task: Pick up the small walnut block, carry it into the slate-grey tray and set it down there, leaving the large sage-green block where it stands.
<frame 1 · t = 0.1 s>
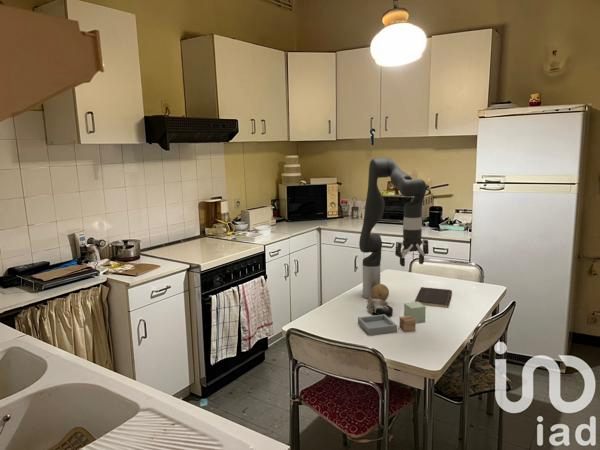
hand: (411, 265, 193), 29 cm above the table, tool pointing down, fingers open, 8 cm apart
grey tray: (377, 327, 201), on the table
sage block: (414, 319, 209), on the table
caster wheel: (380, 314, 217), on the table
natural sponge: (379, 303, 230), on the table
hardcover book: (433, 299, 235), on the table
walnut block: (407, 329, 199), on the table
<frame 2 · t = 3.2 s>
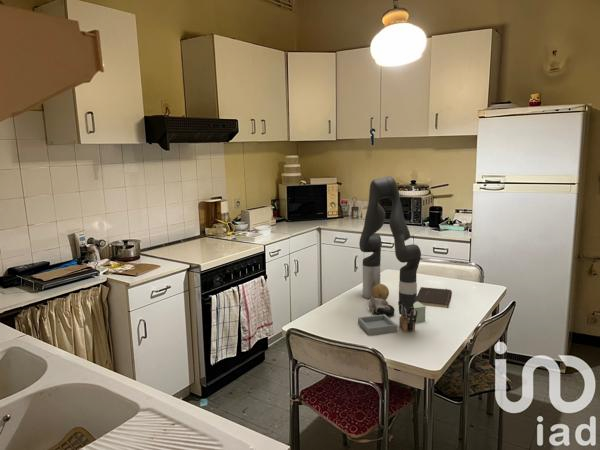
hand: (407, 327, 198), 0 cm above the table, tool pointing down, fingers closed on walnut block, 5 cm apart
walnut block: (407, 328, 199), on the table, touching gripper
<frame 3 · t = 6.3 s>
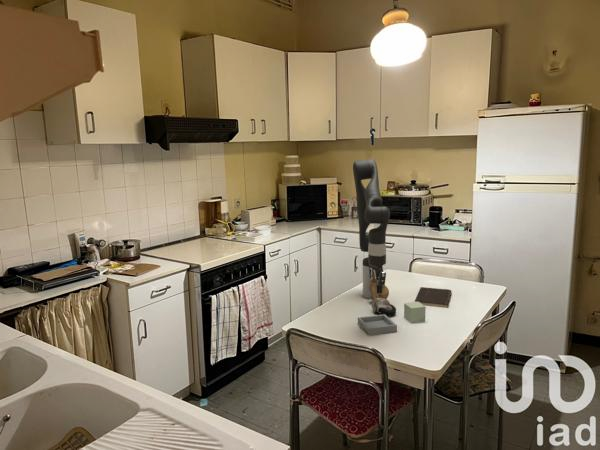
hand: (377, 290, 198), 17 cm above the table, tool pointing down, fingers closed on walnut block, 5 cm apart
walnut block: (377, 292, 198), point 16 cm above the table, touching gripper
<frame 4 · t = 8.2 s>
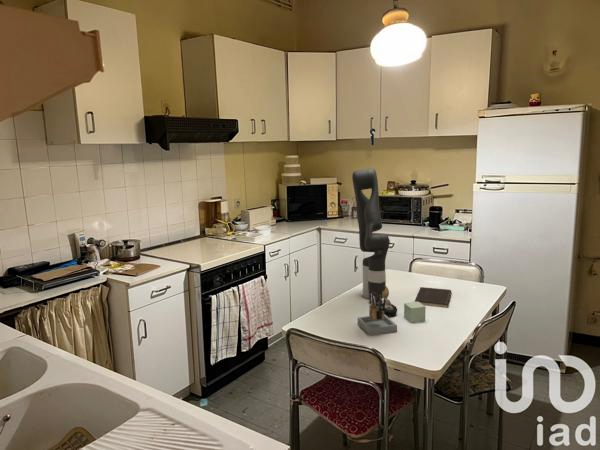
hand: (376, 316, 200), 5 cm above the table, tool pointing down, fingers closed on walnut block, 5 cm apart
walnut block: (376, 317, 200), point 5 cm above the table, touching gripper
when the fingers open (3 cm above the table, at t = 9.6 s): walnut block drops 2 cm, resting on grey tray.
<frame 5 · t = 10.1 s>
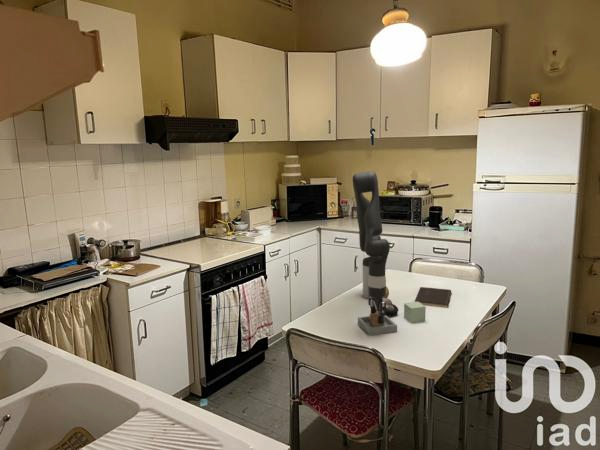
hand: (377, 319, 200), 4 cm above the table, tool pointing down, fingers open, 8 cm apart
walnut block: (376, 325, 201), point 1 cm above the table, touching grey tray
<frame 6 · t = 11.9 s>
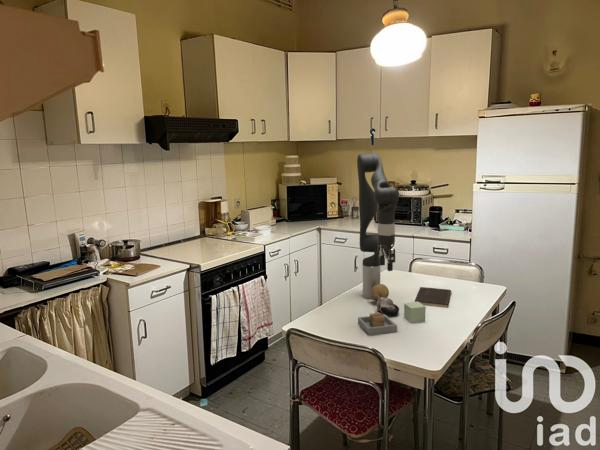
hand: (386, 267, 204), 25 cm above the table, tool pointing down, fingers open, 8 cm apart
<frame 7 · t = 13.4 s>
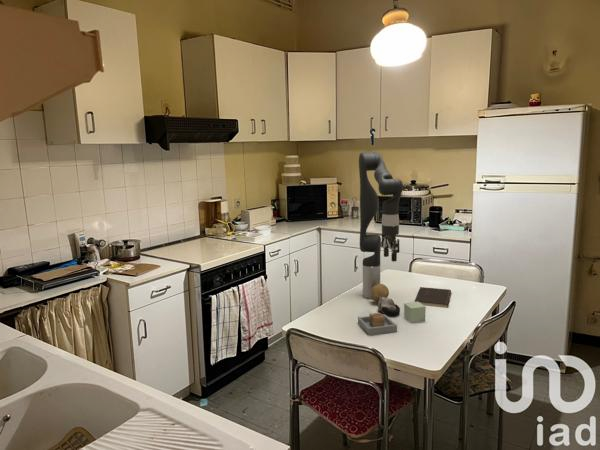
hand: (390, 258, 206), 28 cm above the table, tool pointing down, fingers open, 8 cm apart
at the end: walnut block inside the target area on the grey tray (0.0 cm from its centre), point 0.8 cm above the grey tray's base; the gripper is holding nothing; sage block moved 0.1 cm from its start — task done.
